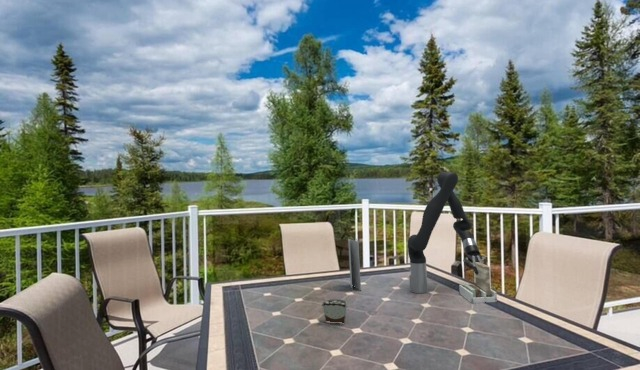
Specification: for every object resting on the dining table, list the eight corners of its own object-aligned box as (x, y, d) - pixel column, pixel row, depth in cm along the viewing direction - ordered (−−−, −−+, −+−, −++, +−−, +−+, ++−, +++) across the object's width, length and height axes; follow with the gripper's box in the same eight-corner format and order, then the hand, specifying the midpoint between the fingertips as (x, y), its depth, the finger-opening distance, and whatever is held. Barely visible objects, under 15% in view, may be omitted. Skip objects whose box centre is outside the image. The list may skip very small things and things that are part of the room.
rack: (471, 303, 194) (471, 293, 194) (459, 293, 211) (459, 284, 211) (496, 301, 194) (496, 292, 194) (482, 292, 211) (482, 283, 211)
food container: (351, 320, 178) (350, 299, 178) (347, 324, 172) (346, 303, 172) (326, 318, 182) (325, 298, 182) (322, 322, 176) (321, 301, 176)
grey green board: (484, 295, 196) (483, 267, 196) (475, 288, 208) (474, 262, 208) (490, 295, 196) (489, 266, 196) (480, 288, 208) (479, 262, 208)
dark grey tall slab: (361, 290, 226) (358, 241, 226) (351, 291, 226) (349, 242, 226) (359, 284, 240) (356, 238, 240) (350, 285, 240) (348, 238, 240)
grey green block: (476, 301, 197) (476, 289, 197) (469, 295, 207) (468, 284, 207) (480, 300, 197) (479, 289, 197) (472, 295, 207) (472, 284, 207)
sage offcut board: (472, 301, 197) (471, 289, 197) (464, 295, 207) (464, 284, 207) (476, 301, 197) (475, 289, 197) (468, 295, 207) (468, 284, 207)
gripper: (460, 244, 214) (469, 270, 202) (484, 243, 214) (495, 269, 202) (457, 252, 219) (466, 277, 207) (480, 251, 219) (491, 276, 207)
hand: (480, 273), depth 204 cm, fingers closed on grey green board, 3 cm apart
